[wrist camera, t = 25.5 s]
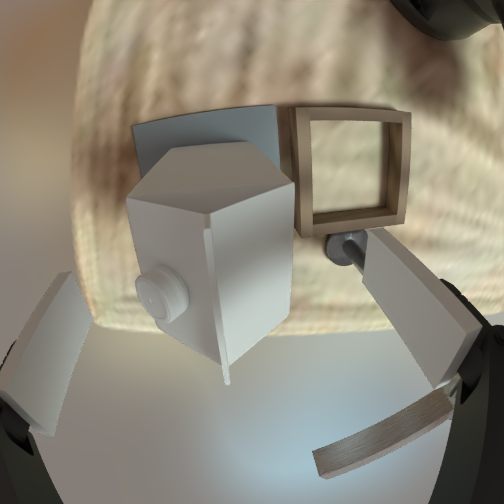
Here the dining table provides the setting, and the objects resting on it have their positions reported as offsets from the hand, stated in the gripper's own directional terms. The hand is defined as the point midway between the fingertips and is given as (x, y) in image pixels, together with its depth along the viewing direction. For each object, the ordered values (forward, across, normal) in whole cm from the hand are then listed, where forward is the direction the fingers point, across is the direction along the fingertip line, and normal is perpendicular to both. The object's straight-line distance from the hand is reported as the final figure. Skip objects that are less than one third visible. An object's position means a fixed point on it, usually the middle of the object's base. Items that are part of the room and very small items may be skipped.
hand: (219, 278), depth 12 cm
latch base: (+17, +14, -9) cm, 24 cm away
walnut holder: (+17, +14, 0) cm, 22 cm away
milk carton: (+16, 0, 0) cm, 17 cm away
